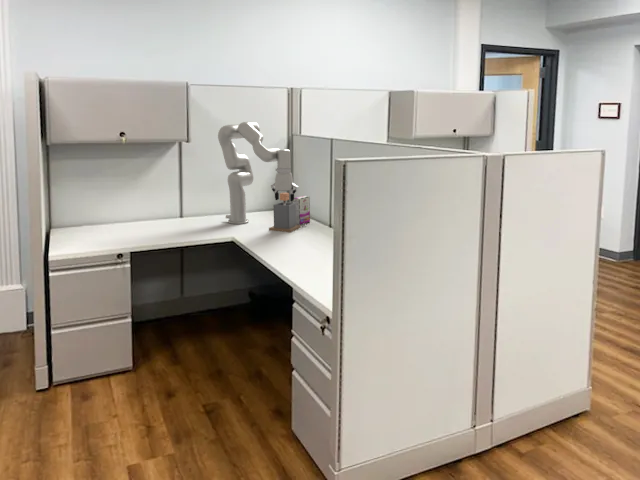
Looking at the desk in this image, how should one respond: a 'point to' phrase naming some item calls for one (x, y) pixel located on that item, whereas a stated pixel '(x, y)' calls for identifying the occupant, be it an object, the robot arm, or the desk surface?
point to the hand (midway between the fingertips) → (284, 200)
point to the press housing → (285, 217)
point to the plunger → (284, 197)
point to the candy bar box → (302, 209)
